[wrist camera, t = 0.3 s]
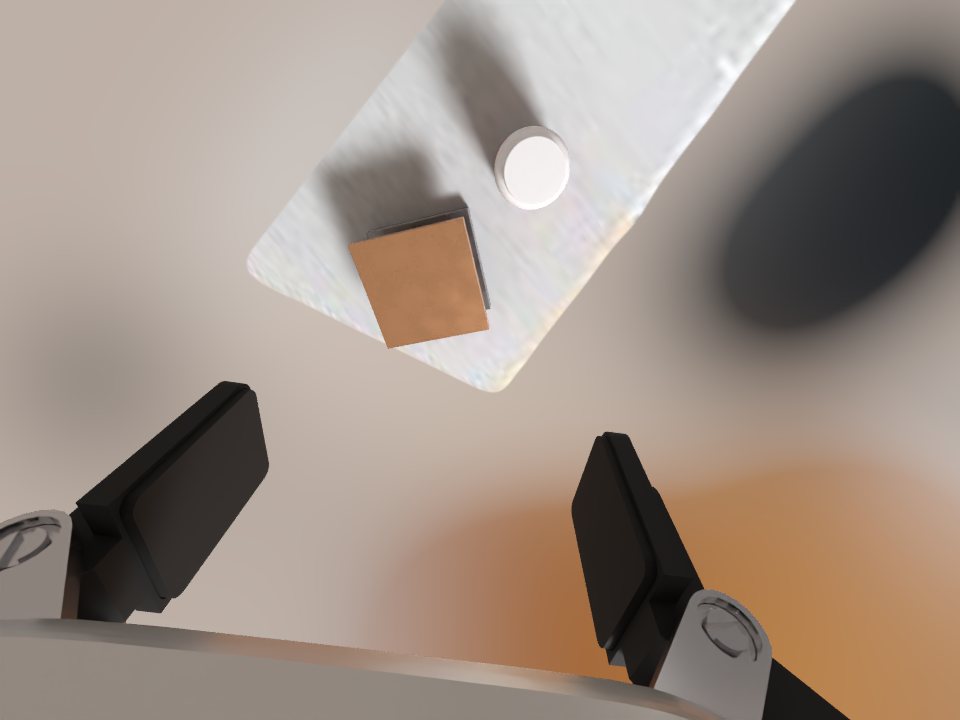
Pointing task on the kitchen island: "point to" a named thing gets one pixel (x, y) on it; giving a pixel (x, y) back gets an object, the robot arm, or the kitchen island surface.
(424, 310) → the stand
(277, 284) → the kitchen island surface
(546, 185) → the pill bottle
